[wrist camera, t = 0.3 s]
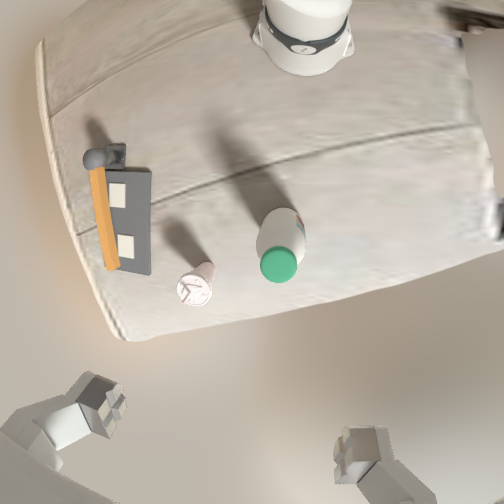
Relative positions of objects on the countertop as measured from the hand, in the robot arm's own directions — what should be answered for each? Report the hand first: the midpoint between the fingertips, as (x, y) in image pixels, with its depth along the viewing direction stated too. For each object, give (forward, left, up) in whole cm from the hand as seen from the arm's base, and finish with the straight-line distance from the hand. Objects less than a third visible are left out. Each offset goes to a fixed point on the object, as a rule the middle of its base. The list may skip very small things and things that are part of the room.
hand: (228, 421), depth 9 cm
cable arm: (+4, -33, -41) cm, 53 cm away
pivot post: (-6, -35, -47) cm, 59 cm away
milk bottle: (+5, +1, -47) cm, 48 cm away
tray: (+8, -32, -47) cm, 58 cm away
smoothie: (+16, -13, -47) cm, 52 cm away
